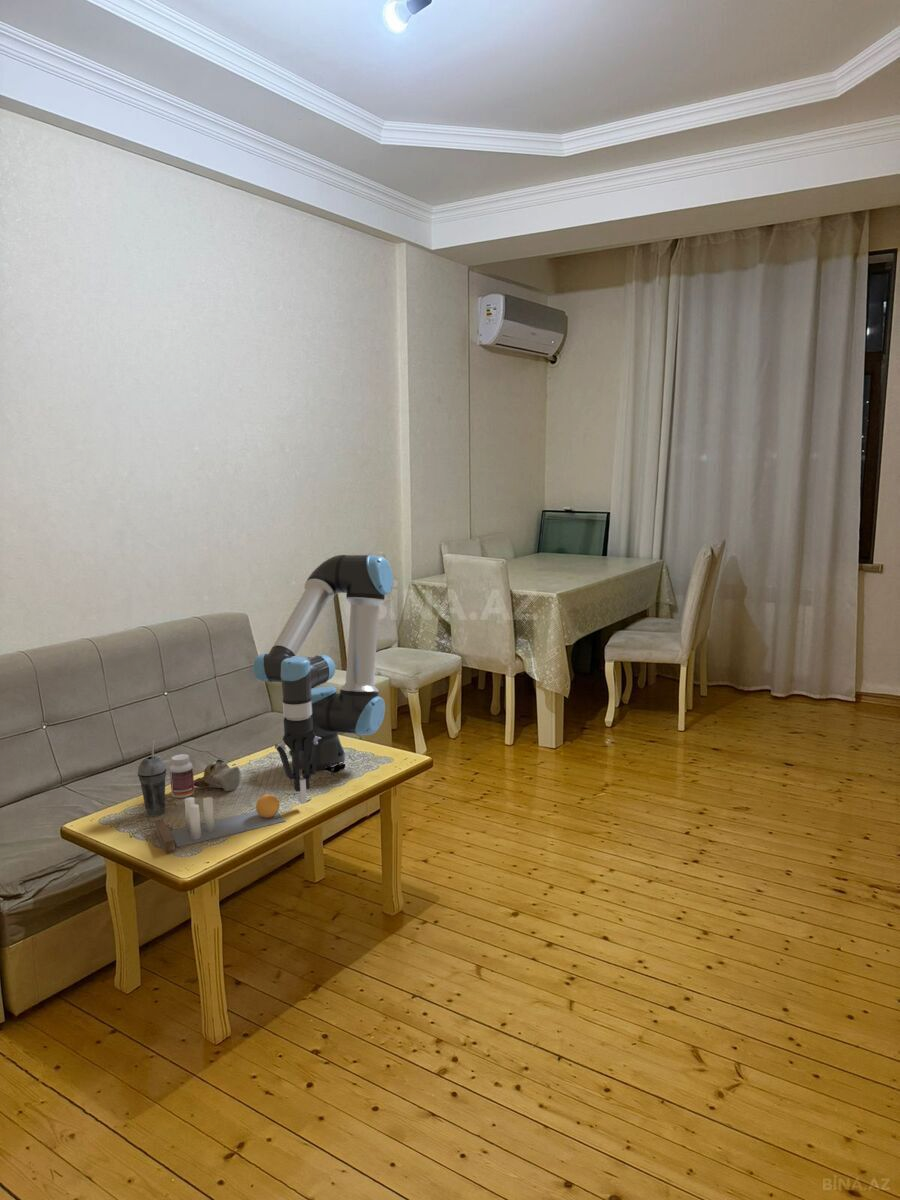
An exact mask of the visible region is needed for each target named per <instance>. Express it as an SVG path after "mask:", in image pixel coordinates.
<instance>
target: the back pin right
mask: <svg viewBox="0 0 900 1200" xmlns="http://www.w3.org/2000/svg"><path fill="white" fill-rule="evenodd" d="M192 804H196V800H195V797H192V796H188V797H185V798H184V809H185V821H186V827H187V832H191V829H190V817H189V806H190V805H192Z"/></svg>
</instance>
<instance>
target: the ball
mask: <svg viewBox="0 0 900 1200" xmlns="http://www.w3.org/2000/svg"><path fill="white" fill-rule="evenodd" d="M279 810H280V802H279V799H278V798H277V797H276V796H274V795H273V794H269V793H267V794H264V795H262V796H261V797H259V798H258V799H257V802H256V803H255V811H257V813H258V814H259V815H260V816H261V817H263V818H271V817H273V816H275V815H276V814H277V812H278V813H279Z"/></svg>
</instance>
